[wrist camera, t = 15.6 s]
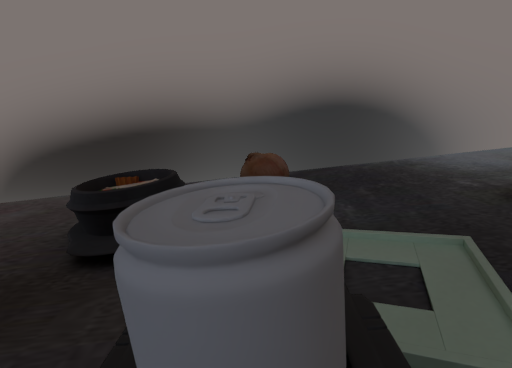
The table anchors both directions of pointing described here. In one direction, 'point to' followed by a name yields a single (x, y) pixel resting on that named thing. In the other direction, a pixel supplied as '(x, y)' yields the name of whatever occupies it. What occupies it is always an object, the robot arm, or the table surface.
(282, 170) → the onion
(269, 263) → the beverage can
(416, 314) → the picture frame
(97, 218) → the casserole
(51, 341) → the table surface
